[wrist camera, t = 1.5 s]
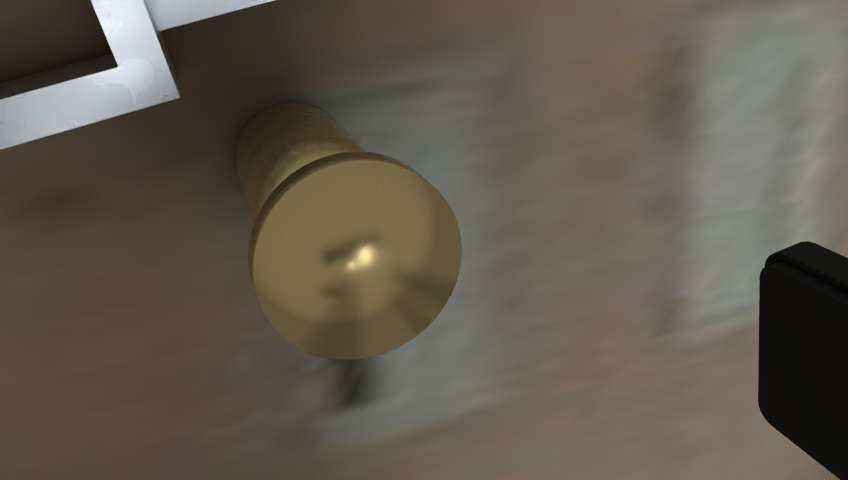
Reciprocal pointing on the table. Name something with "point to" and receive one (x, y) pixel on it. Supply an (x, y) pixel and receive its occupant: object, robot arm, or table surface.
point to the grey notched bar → (106, 71)
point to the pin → (341, 236)
